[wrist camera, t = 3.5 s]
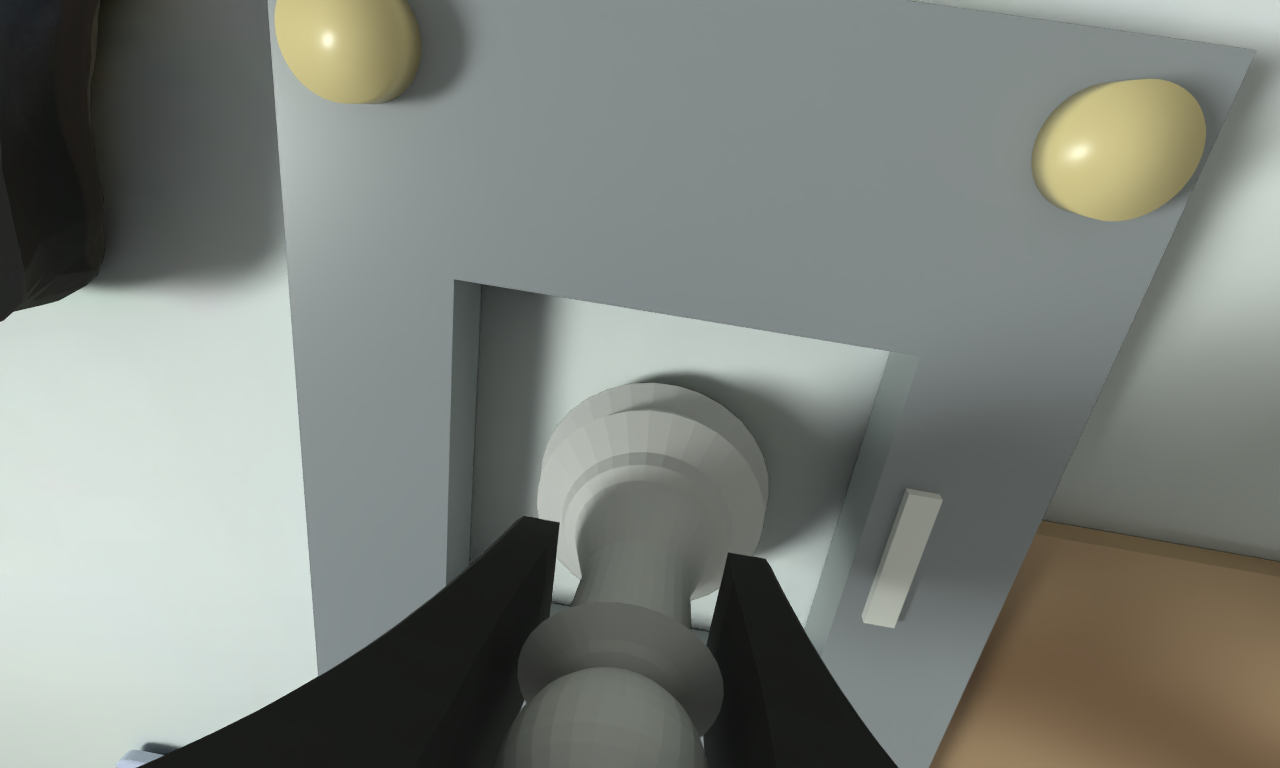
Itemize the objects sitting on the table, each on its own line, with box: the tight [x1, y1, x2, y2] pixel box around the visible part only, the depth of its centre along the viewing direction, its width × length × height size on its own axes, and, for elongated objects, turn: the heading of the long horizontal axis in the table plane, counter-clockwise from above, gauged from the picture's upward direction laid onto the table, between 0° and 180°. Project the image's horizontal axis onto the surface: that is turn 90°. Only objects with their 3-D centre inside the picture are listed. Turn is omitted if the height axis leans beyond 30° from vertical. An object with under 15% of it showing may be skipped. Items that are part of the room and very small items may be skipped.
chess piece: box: [494, 383, 769, 768], centre depth 10 cm, size 5×5×8 cm
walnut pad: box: [929, 521, 1280, 768], centre depth 15 cm, size 9×9×1 cm
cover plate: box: [267, 0, 1256, 768], centre depth 13 cm, size 18×14×2 cm
